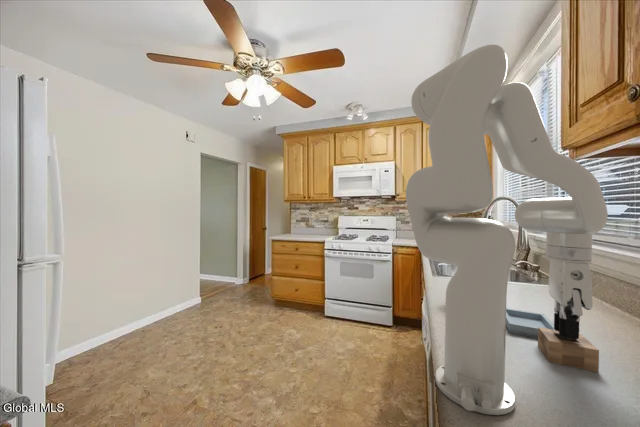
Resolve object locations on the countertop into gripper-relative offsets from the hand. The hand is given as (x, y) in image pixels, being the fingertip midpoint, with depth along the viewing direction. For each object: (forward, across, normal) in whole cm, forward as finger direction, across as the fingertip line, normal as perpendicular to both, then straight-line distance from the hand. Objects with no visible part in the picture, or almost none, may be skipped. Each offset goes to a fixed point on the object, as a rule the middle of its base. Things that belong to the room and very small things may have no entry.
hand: (565, 333), depth 59 cm
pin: (+3, 0, 0) cm, 3 cm away
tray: (+6, +16, +4) cm, 17 cm away
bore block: (+6, 0, 0) cm, 6 cm away
